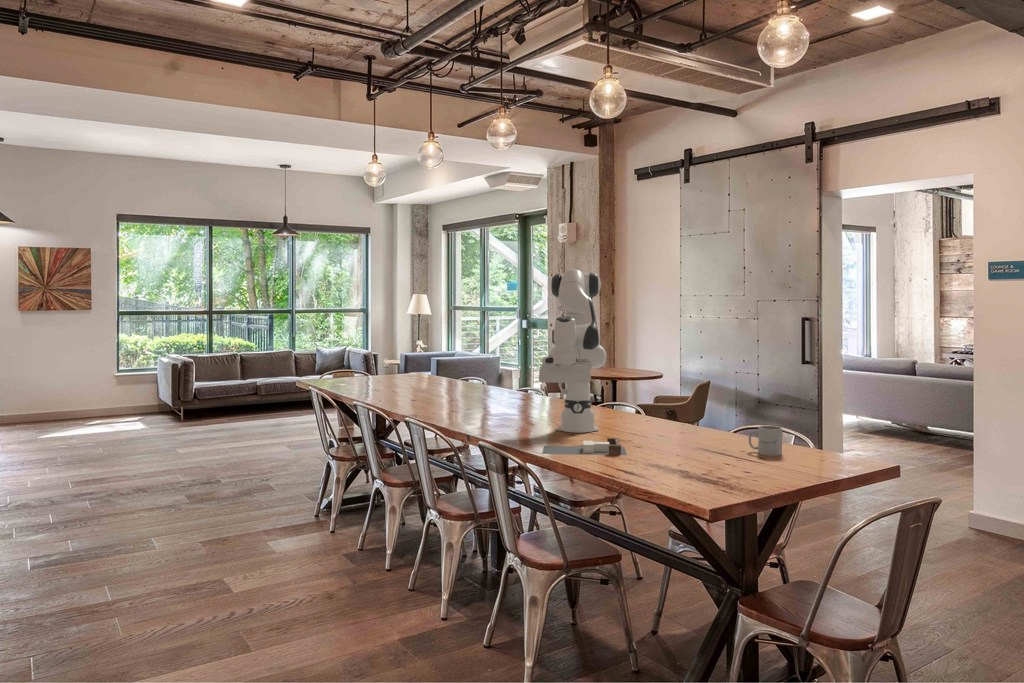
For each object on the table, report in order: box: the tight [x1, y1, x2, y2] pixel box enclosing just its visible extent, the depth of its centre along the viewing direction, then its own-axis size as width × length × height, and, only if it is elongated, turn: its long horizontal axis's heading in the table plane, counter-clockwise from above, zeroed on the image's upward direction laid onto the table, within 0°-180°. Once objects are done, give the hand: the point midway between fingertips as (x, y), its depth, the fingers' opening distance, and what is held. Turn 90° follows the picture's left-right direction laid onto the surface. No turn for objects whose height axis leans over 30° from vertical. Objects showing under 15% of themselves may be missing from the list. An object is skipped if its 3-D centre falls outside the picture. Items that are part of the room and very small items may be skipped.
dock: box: [606, 437, 622, 456], centre depth 290 cm, size 16×4×4 cm, turn 175°
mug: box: [748, 425, 783, 457], centre depth 288 cm, size 12×9×10 cm
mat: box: [541, 445, 628, 456], centre depth 292 cm, size 16×32×1 cm, turn 85°
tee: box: [582, 440, 609, 453], centre depth 291 cm, size 9×10×3 cm
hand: (564, 394), depth 291 cm, fingers closed
